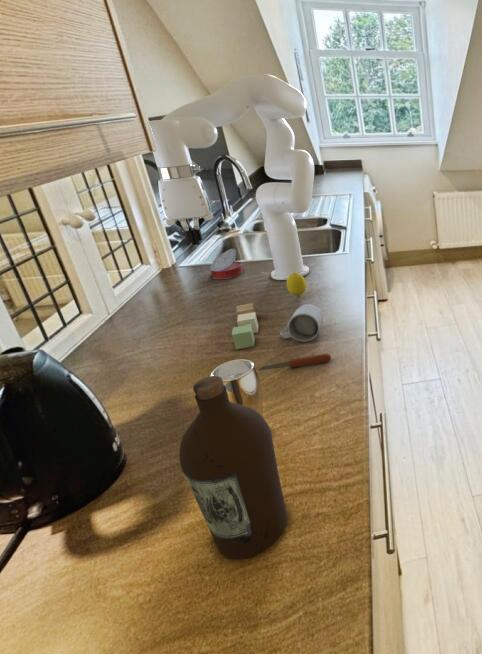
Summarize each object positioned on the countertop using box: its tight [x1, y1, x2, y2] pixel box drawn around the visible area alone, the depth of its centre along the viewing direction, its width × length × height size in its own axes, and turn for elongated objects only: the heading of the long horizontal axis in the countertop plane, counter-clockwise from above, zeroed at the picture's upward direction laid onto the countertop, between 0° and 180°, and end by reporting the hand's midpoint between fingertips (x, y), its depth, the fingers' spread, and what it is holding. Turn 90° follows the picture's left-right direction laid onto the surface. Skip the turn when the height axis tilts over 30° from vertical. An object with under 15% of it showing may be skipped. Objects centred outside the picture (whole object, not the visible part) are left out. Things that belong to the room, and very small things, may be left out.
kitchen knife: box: [257, 352, 332, 371], centre depth 103 cm, size 16×1×2 cm, turn 106°
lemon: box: [286, 272, 307, 298], centre depth 138 cm, size 6×6×8 cm
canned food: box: [209, 248, 244, 280], centre depth 159 cm, size 11×10×10 cm
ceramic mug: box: [279, 303, 324, 343], centre depth 116 cm, size 11×8×8 cm
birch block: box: [235, 302, 257, 317], centre depth 125 cm, size 4×4×4 cm
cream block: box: [236, 311, 259, 334], centre depth 120 cm, size 4×4×4 cm
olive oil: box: [178, 375, 288, 560], centre depth 60 cm, size 11×11×25 cm
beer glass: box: [210, 358, 265, 419], centre depth 78 cm, size 7×7×15 cm
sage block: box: [231, 324, 256, 350], centre depth 113 cm, size 4×4×4 cm
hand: (196, 243), depth 119 cm, fingers closed
